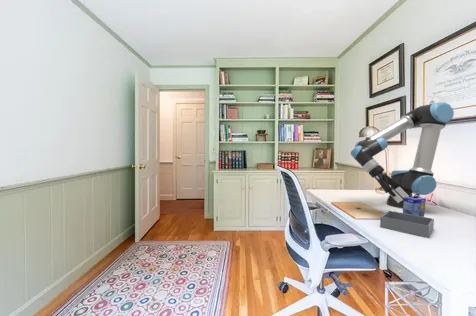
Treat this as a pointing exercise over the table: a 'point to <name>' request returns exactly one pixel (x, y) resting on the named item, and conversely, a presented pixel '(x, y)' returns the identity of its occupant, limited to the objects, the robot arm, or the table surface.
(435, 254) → the table surface
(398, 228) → the box
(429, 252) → the table surface
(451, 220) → the table surface
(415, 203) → the ink cartridge box
